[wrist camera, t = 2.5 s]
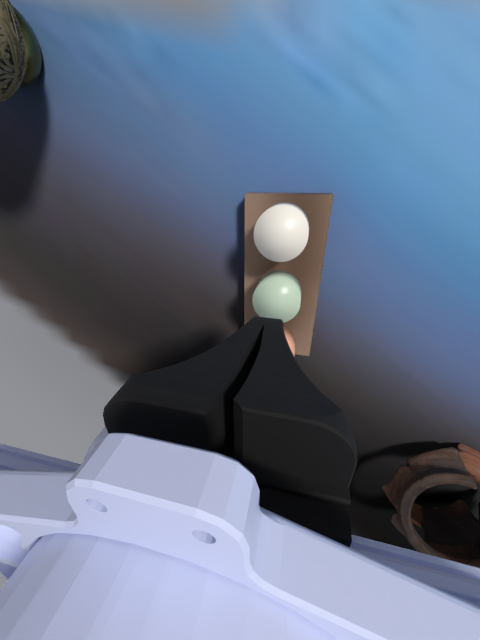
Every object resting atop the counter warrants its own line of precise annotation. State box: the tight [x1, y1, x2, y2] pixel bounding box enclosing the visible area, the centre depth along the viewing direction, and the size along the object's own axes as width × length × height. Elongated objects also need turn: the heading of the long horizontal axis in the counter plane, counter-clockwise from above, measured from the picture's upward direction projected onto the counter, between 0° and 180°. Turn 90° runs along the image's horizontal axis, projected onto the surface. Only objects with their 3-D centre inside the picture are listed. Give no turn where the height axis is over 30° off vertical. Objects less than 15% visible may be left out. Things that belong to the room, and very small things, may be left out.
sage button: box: [252, 270, 302, 323], centre depth 16 cm, size 3×3×2 cm
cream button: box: [254, 202, 309, 262], centre depth 14 cm, size 3×3×2 cm
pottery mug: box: [382, 443, 480, 568], centre depth 22 cm, size 12×10×8 cm
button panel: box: [244, 192, 333, 356], centre depth 18 cm, size 5×11×1 cm, turn 0°
